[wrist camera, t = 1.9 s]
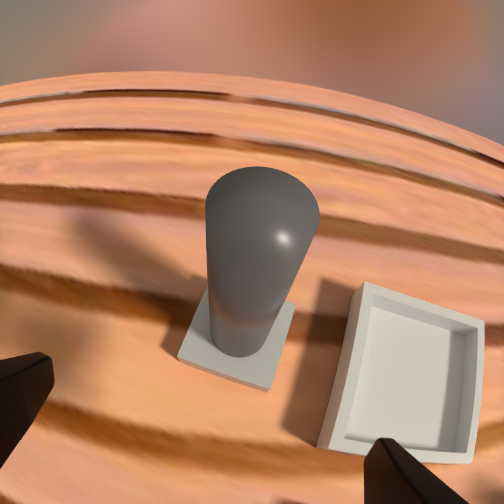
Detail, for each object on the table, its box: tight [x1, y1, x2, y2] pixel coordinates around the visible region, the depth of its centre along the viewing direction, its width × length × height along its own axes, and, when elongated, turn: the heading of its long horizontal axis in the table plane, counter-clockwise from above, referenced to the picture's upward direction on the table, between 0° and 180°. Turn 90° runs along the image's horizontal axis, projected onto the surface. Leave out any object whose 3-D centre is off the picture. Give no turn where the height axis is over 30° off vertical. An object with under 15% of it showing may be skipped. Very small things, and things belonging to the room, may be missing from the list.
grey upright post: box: [177, 167, 320, 392], centre depth 16 cm, size 6×6×14 cm
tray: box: [316, 281, 484, 465], centre depth 19 cm, size 12×12×2 cm
